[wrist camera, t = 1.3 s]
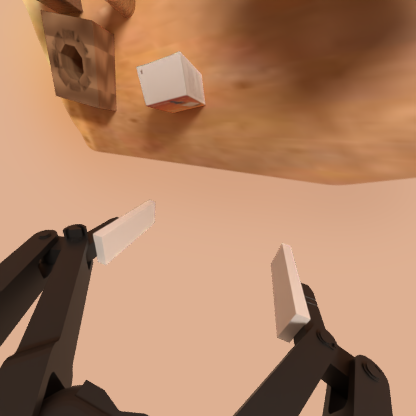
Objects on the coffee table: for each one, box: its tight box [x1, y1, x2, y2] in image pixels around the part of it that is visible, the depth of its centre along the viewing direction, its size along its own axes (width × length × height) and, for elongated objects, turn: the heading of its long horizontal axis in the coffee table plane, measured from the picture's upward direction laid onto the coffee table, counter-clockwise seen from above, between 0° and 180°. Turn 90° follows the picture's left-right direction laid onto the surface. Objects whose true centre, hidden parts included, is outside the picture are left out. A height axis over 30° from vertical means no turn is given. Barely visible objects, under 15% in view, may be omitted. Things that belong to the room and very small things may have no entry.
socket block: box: [41, 10, 116, 111], centre depth 36 cm, size 14×12×5 cm
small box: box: [136, 51, 205, 113], centre depth 30 cm, size 8×6×10 cm
